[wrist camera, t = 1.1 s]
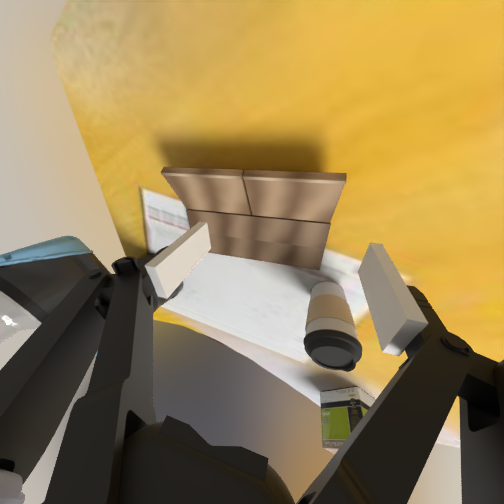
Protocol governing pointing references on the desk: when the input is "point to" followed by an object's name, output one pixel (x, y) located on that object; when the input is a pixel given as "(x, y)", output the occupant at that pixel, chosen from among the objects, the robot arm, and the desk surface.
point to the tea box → (342, 414)
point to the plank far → (209, 189)
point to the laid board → (264, 237)
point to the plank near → (294, 194)
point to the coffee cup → (331, 329)
